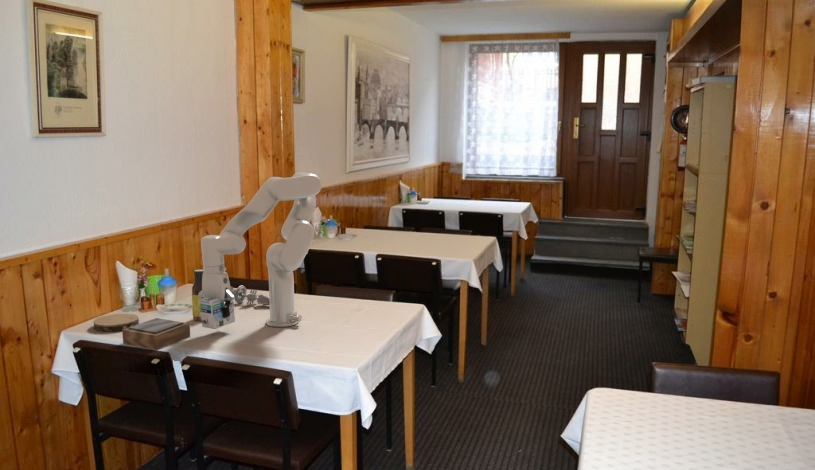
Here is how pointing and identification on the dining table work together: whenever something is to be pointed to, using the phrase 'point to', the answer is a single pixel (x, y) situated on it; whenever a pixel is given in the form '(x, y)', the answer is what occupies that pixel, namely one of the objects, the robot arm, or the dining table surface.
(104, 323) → the round wood slice
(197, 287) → the sauce bottle
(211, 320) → the light bulb box
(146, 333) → the walnut base
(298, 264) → the robot arm
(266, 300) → the spaceship
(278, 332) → the dining table surface
